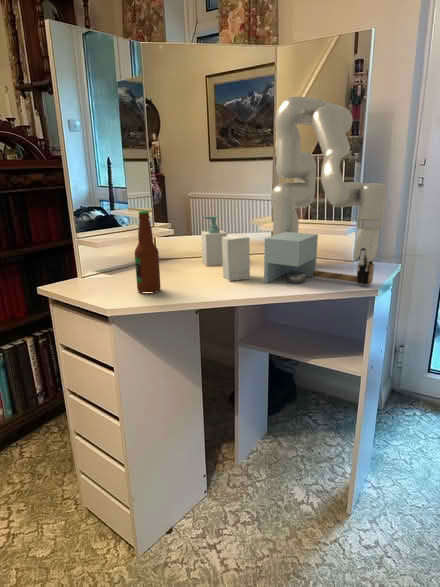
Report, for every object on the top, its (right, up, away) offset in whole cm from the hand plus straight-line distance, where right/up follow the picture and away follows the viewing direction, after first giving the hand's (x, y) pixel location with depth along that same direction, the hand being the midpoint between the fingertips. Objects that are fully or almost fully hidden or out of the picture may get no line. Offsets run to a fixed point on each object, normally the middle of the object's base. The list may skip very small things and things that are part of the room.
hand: (364, 281), depth 131 cm
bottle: (-69, -3, -1) cm, 69 cm away
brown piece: (-6, +1, +4) cm, 8 cm away
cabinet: (-22, +1, +9) cm, 24 cm away
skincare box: (-41, +1, +12) cm, 43 cm away
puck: (-21, 0, +7) cm, 22 cm away
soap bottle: (-49, +8, +35) cm, 61 cm away
